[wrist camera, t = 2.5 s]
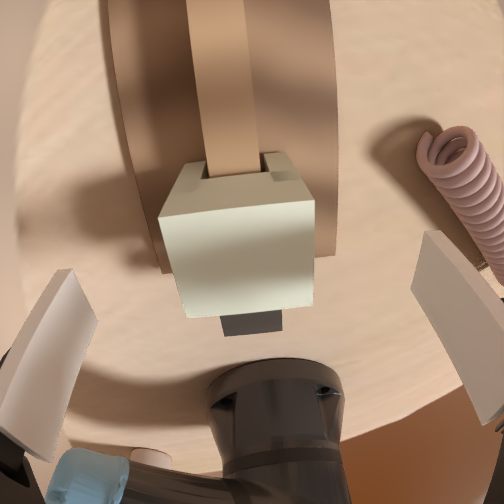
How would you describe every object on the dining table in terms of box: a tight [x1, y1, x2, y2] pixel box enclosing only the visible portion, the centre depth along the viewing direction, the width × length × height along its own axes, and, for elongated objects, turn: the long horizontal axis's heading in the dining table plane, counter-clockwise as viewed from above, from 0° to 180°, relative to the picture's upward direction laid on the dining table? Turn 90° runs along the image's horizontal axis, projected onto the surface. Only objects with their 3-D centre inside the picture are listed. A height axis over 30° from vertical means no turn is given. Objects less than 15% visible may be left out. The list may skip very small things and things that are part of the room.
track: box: [107, 0, 338, 337], centre depth 13 cm, size 22×12×7 cm, turn 5°
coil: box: [416, 126, 504, 286], centre depth 18 cm, size 5×5×18 cm
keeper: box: [158, 152, 315, 318], centre depth 15 cm, size 5×6×7 cm
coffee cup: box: [130, 448, 172, 470], centre depth 36 cm, size 10×10×15 cm
